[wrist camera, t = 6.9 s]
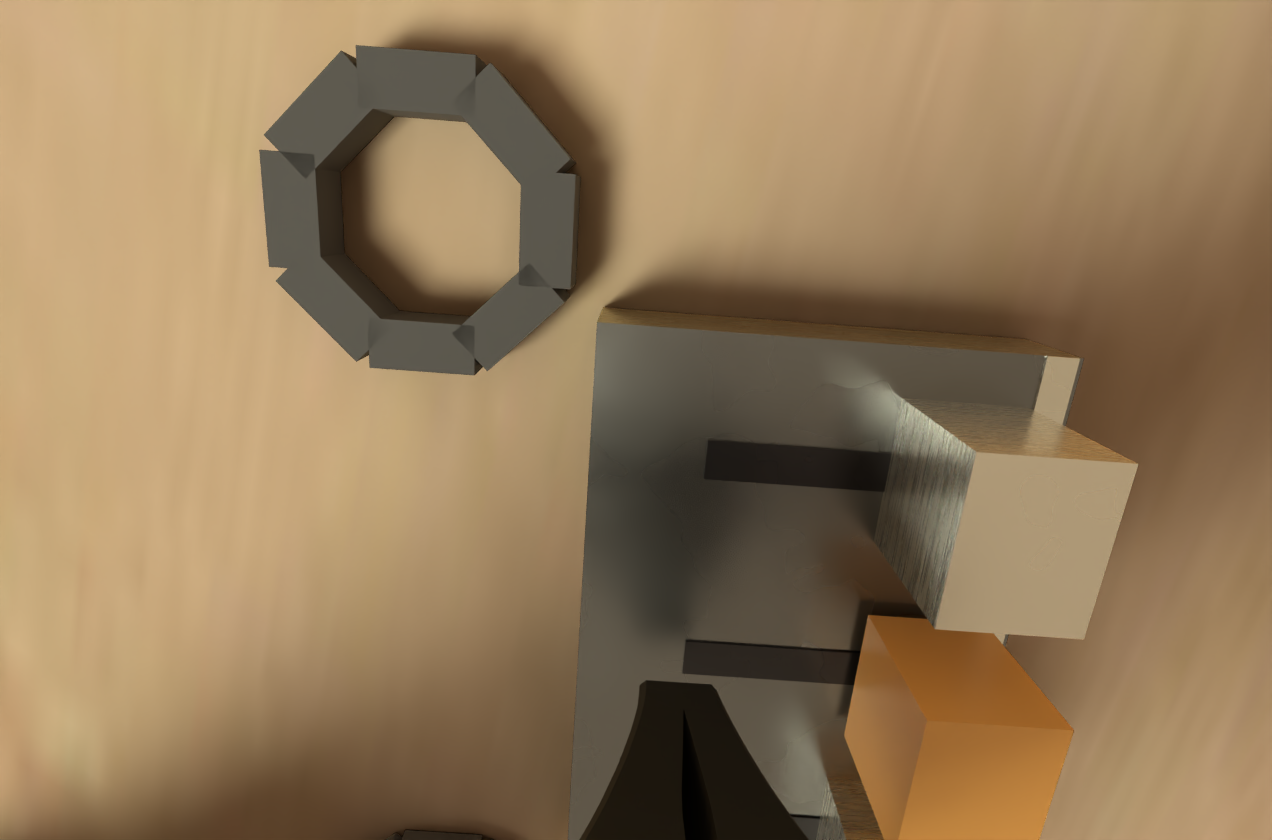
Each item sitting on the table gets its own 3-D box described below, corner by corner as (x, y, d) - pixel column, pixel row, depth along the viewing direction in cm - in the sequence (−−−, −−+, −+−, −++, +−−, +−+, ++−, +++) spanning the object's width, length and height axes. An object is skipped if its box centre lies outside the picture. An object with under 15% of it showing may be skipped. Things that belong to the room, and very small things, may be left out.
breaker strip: (572, 824, 18) (548, 1038, 14) (603, 307, 14) (583, 355, 10) (901, 844, 19) (991, 1064, 14) (1025, 338, 14) (1214, 402, 10)
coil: (303, 350, 15) (277, 360, 14) (281, 50, 13) (249, 36, 12) (571, 369, 15) (566, 382, 14) (585, 75, 13) (580, 63, 12)
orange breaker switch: (844, 735, 15) (892, 862, 12) (868, 614, 14) (927, 720, 11) (953, 742, 15) (1029, 870, 12) (984, 622, 14) (1074, 730, 11)
